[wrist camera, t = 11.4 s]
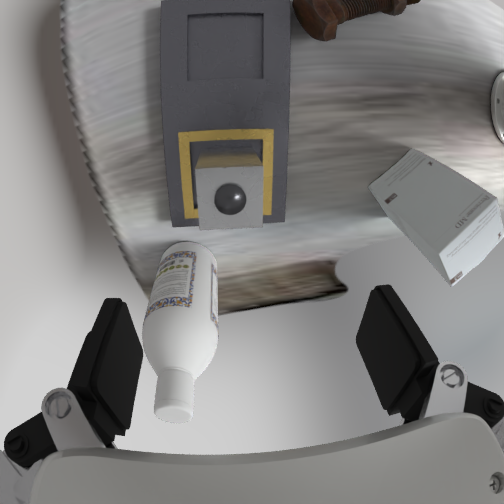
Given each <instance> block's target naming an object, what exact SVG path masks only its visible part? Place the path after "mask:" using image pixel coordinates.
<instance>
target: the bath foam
mask: <svg viewBox="0 0 504 504" xmlns="http://www.w3.org/2000/svg"><path fill="white" fill-rule="evenodd" d="M142 339H143V347H144V351H145V354H146V356H147V359H148V361H149V363H150V364H151V366H152V368H153V369H154V371H155V372H156V374H157V376H158V380H157V387H156V395H155V404H154V413H155V415H156V416H157V417H158V418H159V419H161V420H163V421H166V422H170V423H185V422H188V421H190V420H191V419H192V418H193V414H194V381H195V380H196V378H198V376H199V375H200V374H201V373H202V372H203V371H204V370H205V369H206V368H207V366H208V365H209V364H210V362H211V360H212V359H213V356H214V354H215V351H216V347H217V342H218V292H217V263H216V260H215V258H214V256H213V254H212V253H211V252H210V251H209V250H208V249H207V248H206V247H204V246H202V245H200V244H198V243H194V242H180V243H177V244H174V245H172V246H171V247H169V248H168V249H167V250H166V251H165V252H164V254H163V256H162V258H161V261H160V264H159V267H158V271H157V274H156V278H155V281H154V285H153V288H152V292H151V296H150V300H149V303H148V307H147V312H146V315H145V319H144V323H143V331H142Z"/></svg>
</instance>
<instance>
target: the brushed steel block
mask: <svg viewBox="0 0 504 504" xmlns="http://www.w3.org/2000/svg"><path fill="white" fill-rule="evenodd" d="M263 173H264V166H263V164H262V163H261V161H260V159H259V157H258V156H257V154H256V152H255V151H254V149H253V147H235V148H211V149H202V150H201V152H200V155H199V158H198V162H197V165H196V168H195V176H196V190H197V204H198V216H199V228H200V230H213V229H233V228H256V227H263Z"/></svg>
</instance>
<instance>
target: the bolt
mask: <svg viewBox="0 0 504 504" xmlns="http://www.w3.org/2000/svg"><path fill="white" fill-rule="evenodd" d="M419 2H420V0H293V4H292V5H293V9H294V12H295V15H296V17H297V19H298V20H299V22H300V24H301V25H302V27H303V28H304V29H305V31H306V32H307V33H308V34H309V35H310V36H311V37H312V38H314V39H316V40H320V41H329V40H331V39H334V38H335V36H336V30H337V25H339V24H342V23H343V22H344V21H348V20H351V19H354V18H358V17H361V16H365V15H368V14H372V13H375V12H379V11H381V12H383V13H386V14H389V15H394V16H395V15H399V14H401V13H402V12H403V11H404V9H405V8H406V5H410V4H415V3H419Z"/></svg>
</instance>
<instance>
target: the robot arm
mask: <svg viewBox="0 0 504 504" xmlns="http://www.w3.org/2000/svg"><path fill="white" fill-rule="evenodd" d="M491 113H492V120H493V124H494V127H495V130H496V133H497V135H498V137H499V138H500V140H501V141H502V142H503V143H504V72H502V73H500V74H499V75H498V76H497V78H496V80H495V82H494V85H493V88H492V93H491ZM356 344H357V347H358V349H359V351H360V354H361V356H362V358H363V361H364V363H365V365H366V368H367V370H368V372H369V375H370V377H371V380H372V382H373V385H374V387H375V390H376V392H377V395H378V397H379V400H380V402H381V405H382V407H383V409H384V410H387V412H388V414H389V416H390V415H393V414H396V413H401V416H402V420H401V422H400V425H399V426H397V427H393V428H390V429H386V430H383V431H379V432H376V433H372V434H368V435H364V436H360V437H356V438H352V439H347V440H343V441H338V442H333V443H328V444H322V445H317V446H311V447H304V448H298V449H290V450H282V451H274V452H264V453H250V454H231V455H230V454H229V455H185V454H166V453H151V452H139V451H130V450H121V449H117V447H116V445H115V444H114V442H113V441H114V439H115V435H121V436H125V431H126V429H129V428H130V424H131V418H132V412H133V405H134V400H135V395H136V390H137V384H138V379H139V374H140V369H141V364H142V359H143V349H142V346H141V344H140V341H139V338H138V336H137V333H136V330H135V328H134V325H133V322H132V319H131V316H130V313H129V310H128V307H127V304H126V303H125V302H122V300H121V299H120V298H106V299H105V300H104V302H103V305H102V307H101V309H100V311H99V314H98V316H97V319H96V321H95V323H94V326H93V328H92V331H90V332H89V333H88V334H87V336H86V338H85V341H84V343H83V346H82V348H81V351H80V354H79V356H78V359H77V362H76V364H75V367H74V370H73V372H72V375H71V378H70V381H69V384H68V387H67V389H65V388H56V389H54V390H51V391H50V392H49V393H47V395H46V396H45V397H44V399H43V401H42V407H41V409H42V412H41V413H39V414H37V415H36V416H34V417H32V418H31V419H29V420H27V421H26V422H24V423H22V424H21V425H19V426H17V427H16V428H14V429H13V430H11V431H10V432H9V433H8V434H7V436H6V437H5V441H4V449H5V450H4V451H3V452H2V451H1V450H0V504H504V402H503V400H502V399H501V397H500V396H499V395H497V394H496V393H493V392H491V391H488V390H486V389H484V388H481V387H479V386H477V385H474V384H472V383H470V382H468V377H467V374H466V371H465V370H464V368H463V367H462V366H460V365H459V364H458V363H455V362H452V361H445V362H443V363H441V364H440V363H439V362H438V358H437V356H436V354H435V353H434V351H433V350H432V348H431V346H430V344H429V343H428V341H427V340H426V338H425V336H424V335H423V333H422V331H421V330H420V328H419V327H418V325H417V324H416V322H415V321H414V319H413V317H412V316H411V314H410V313H409V311H408V310H407V308H406V307H405V305H404V304H403V302H402V301H401V300H400V298H399V296H398V295H397V294H396V292H395V291H394V289H393V288H392V286H391V285H379V286H376V287H375V288H374V290H372V291H371V292H370V296H369V299H368V302H367V305H366V309H365V312H364V315H363V318H362V321H361V324H360V327H359V330H358V333H357V336H356Z"/></svg>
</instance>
